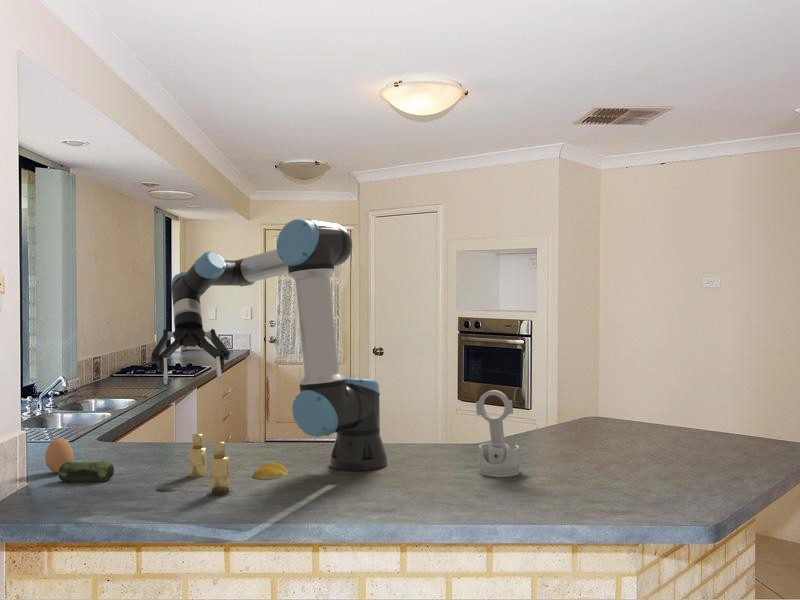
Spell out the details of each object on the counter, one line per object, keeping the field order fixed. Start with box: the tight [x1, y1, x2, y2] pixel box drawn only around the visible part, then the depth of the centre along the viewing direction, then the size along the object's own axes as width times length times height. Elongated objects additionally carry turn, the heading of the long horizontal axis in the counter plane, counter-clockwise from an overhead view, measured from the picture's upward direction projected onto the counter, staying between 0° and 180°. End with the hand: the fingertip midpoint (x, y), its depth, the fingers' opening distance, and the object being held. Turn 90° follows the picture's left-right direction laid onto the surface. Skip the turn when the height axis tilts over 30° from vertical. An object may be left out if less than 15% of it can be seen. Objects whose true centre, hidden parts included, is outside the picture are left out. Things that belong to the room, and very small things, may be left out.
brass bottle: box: [188, 432, 208, 478], centre depth 170 cm, size 4×4×12 cm
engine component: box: [475, 389, 520, 478], centre depth 173 cm, size 11×20×10 cm
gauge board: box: [155, 482, 235, 498], centre depth 156 cm, size 24×12×1 cm, turn 69°
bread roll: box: [252, 462, 289, 480], centre depth 170 cm, size 8×9×4 cm
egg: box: [44, 437, 74, 474], centre depth 181 cm, size 7×7×9 cm
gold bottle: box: [209, 440, 231, 496], centre depth 154 cm, size 4×4×12 cm
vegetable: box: [57, 460, 115, 483], centre depth 173 cm, size 14×5×5 cm, turn 91°
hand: (193, 380), depth 180 cm, fingers open, 13 cm apart
